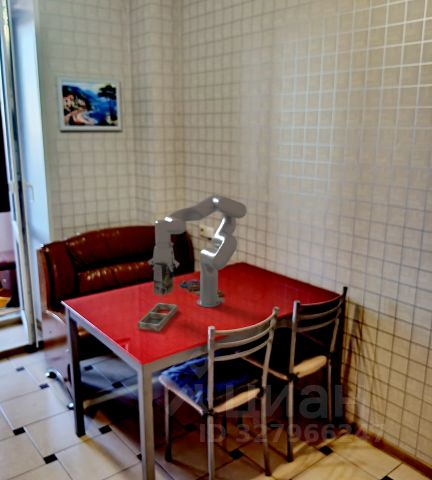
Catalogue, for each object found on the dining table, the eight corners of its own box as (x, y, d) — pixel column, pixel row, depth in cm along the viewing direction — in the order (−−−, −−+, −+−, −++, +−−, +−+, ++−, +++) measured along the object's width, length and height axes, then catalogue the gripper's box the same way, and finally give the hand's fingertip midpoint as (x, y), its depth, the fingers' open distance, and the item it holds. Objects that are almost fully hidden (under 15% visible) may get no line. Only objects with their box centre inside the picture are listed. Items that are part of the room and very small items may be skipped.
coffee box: (162, 296, 231) (163, 265, 227) (153, 293, 235) (153, 263, 231) (174, 291, 239) (174, 261, 235) (164, 288, 242) (165, 259, 238)
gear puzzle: (230, 294, 271) (230, 288, 270) (211, 301, 260) (211, 294, 259) (194, 281, 292) (194, 275, 291) (175, 287, 281) (175, 281, 280)
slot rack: (177, 310, 245) (177, 305, 244) (159, 331, 219) (159, 325, 218) (158, 308, 247) (158, 302, 246) (137, 328, 222) (137, 322, 221)
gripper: (181, 243, 232) (182, 276, 236) (149, 241, 236) (150, 273, 240) (177, 247, 225) (177, 281, 229) (144, 245, 229) (145, 278, 233)
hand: (163, 277), depth 235 cm, fingers closed on coffee box, 7 cm apart
